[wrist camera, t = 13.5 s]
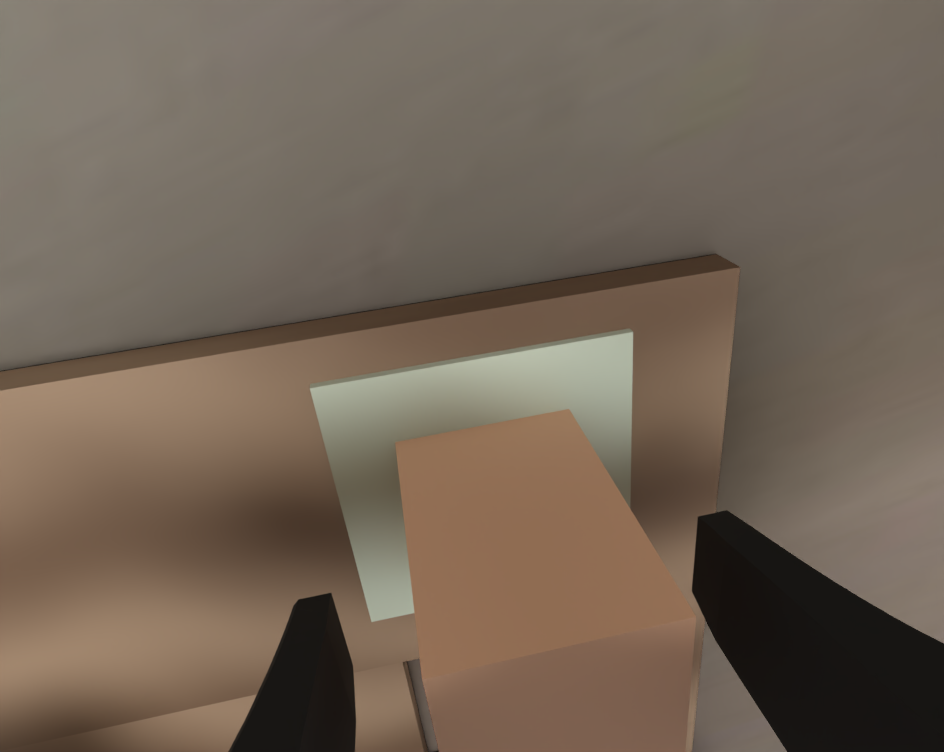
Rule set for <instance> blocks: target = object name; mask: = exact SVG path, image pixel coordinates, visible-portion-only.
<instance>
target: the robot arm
mask: <svg viewBox="0 0 944 752" xmlns="http://www.w3.org/2000/svg"><path fill="white" fill-rule="evenodd" d="M692 593H693V595H694V597H695V599H696V601H697V603H698V605H699V608H700V610H701V612H702V614H703V616H704V618H705V620H706V622H707V624H708V626H709V628H710V630H711V632H712V634H713V636H714V638H715V640H716V642H717V643H718V645H719V646H720V648H721V650H722V651H723V653H724V654H725V656H726V657H727V659H728V661H729V662H730V664H731V665H732V667H733V668H734V670H735V672H736V673H737V675H738V676H739V678H740V679H741V681H742V682H743V684H744V686H745V687H746V689H747V690H748V692H749V693H750V695H751V696H752V698H753V699H754V701H755V703H756V704H757V706H758V707H759V709H760V710H761V712H762V713H763V715H764V716H765V718H766V720H767V721H768V723H769V724H770V726H771V727H772V729H773V730H774V732H775V733H776V735H777V737H778V738H779V740H780V741H781V743H782V744H783V746H784V747H785V749H786V751H787V752H944V644H943V643H941V642H940V641H938V640H936V639H934V638H932V637H930V636H928V635H926V634H924V633H922V632H920V631H918V630H916V629H914V628H912V627H911V626H909V625H907V624H905V623H903V622H901V621H900V620H898V619H896V618H894V617H892V616H891V615H889V614H887V613H886V612H884V611H882V610H880V609H879V608H877V607H875V606H874V605H872V604H870V603H868V602H867V601H865V600H863V599H862V598H860V597H858V596H857V595H855V594H853V593H852V592H850V591H848V590H847V589H845V588H843V587H842V586H840V585H839V584H837V583H835V582H834V581H832V580H831V579H829V578H828V577H826V576H824V575H823V574H821V573H820V572H818V571H817V570H815V569H814V568H812V567H810V566H809V565H807V564H806V563H804V562H803V561H801V560H800V559H798V558H797V557H795V556H794V555H792V554H791V553H789V552H788V551H786V550H785V549H783V548H782V547H780V546H779V545H777V544H776V543H775V542H773V541H772V540H770V539H769V538H767V537H766V536H764V535H763V534H761V533H760V532H758V531H757V530H755V529H754V528H753V527H751V526H750V525H748V524H747V523H745V522H744V521H742V520H741V519H739V518H738V517H736V516H735V515H733V514H732V513H730V512H729V511H722V512H717V513H712V514H707V515H703V516H698V520H697V532H696V544H695V557H694V569H693V581H692ZM355 738H356V708H355V689H354V673H353V664H352V660H351V657H350V654H349V650H348V647H347V644H346V640H345V637H344V633H343V630H342V627H341V623H340V620H339V617H338V613H337V610H336V607H335V603H334V600H333V597H332V593H327V594H322V595H318V596H313V597H308V598H303V599H298V601H297V602H296V603H295V604H294V606H293V608H292V611H291V614H290V617H289V620H288V622H287V625H286V628H285V630H284V633H283V635H282V638H281V641H280V643H279V645H278V648H277V650H276V653H275V655H274V657H273V660H272V662H271V664H270V667H269V669H268V671H267V674H266V676H265V678H264V680H263V682H262V685H261V687H260V689H259V691H258V693H257V695H256V698H255V700H254V702H253V704H252V706H251V708H250V710H249V713H248V715H247V717H246V719H245V721H244V723H243V725H242V727H241V728H240V730H239V732H238V734H237V736H236V738H235V740H234V742H233V744H232V746H231V748H230V750H229V751H228V752H355Z"/></svg>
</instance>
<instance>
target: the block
mask: <svg viewBox="0 0 944 752" xmlns="http://www.w3.org/2000/svg"><path fill="white" fill-rule="evenodd" d="M395 446H396V455H397V464H398V473H399V481H400V490H401V499H402V508H403V517H404V525H405V534H406V543H407V552H408V560H409V569H410V578H411V587H412V595H413V604H414V613H415V622H416V630H417V639H418V648H419V657H420V665H421V674H422V681H423V685H424V690H425V694H426V698H427V703H428V707H429V711H430V715H431V720H432V724H433V728H434V732H435V737H436V741H437V745H438V750H439V752H685V750H686V738H687V726H688V713H689V701H690V689H691V676H692V664H693V652H694V639H695V627H696V615H695V614H694V612H693V610H692V609H691V607H690V605H689V604H688V602H687V601H686V599H685V597H684V596H683V594H682V592H681V591H680V589H679V588H678V586H677V584H676V583H675V581H674V579H673V578H672V576H671V574H670V573H669V571H668V570H667V568H666V566H665V565H664V563H663V561H662V560H661V558H660V557H659V555H658V553H657V552H656V550H655V548H654V547H653V545H652V543H651V542H650V540H649V539H648V537H647V535H646V534H645V532H644V530H643V529H642V527H641V525H640V524H639V522H638V521H637V519H636V517H635V516H634V514H633V512H632V511H631V509H630V508H629V506H628V504H627V503H626V501H625V499H624V498H623V496H622V494H621V493H620V491H619V490H618V488H617V486H616V485H615V483H614V481H613V480H612V478H611V476H610V475H609V473H608V472H607V470H606V468H605V467H604V465H603V463H602V462H601V460H600V459H599V457H598V455H597V454H596V452H595V450H594V449H593V447H592V445H591V444H590V442H589V441H588V439H587V437H586V436H585V434H584V432H583V431H582V429H581V427H580V426H579V424H578V423H577V421H576V419H575V418H574V416H573V414H572V413H571V411H570V410H569V409H566V410H561V411H555V412H550V413H545V414H540V415H534V416H529V417H524V418H519V419H514V420H508V421H503V422H498V423H493V424H487V425H482V426H477V427H472V428H467V429H461V430H456V431H451V432H446V433H440V434H435V435H430V436H425V437H420V438H414V439H409V440H404V441H399V442H395Z"/></svg>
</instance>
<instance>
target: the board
mask: <svg viewBox="0 0 944 752" xmlns="http://www.w3.org/2000/svg"><path fill="white" fill-rule="evenodd" d="M739 275H740V267H739V266H737V265H735V264H733V263H732V262H730V261H728V260H726V259H724V258H723V257H721V256H719V255H717V254H715V255H709V256H703V257H697V258H691V259H685V260H679V261H672V262H666V263H660V264H654V265H648V266H642V267H636V268H630V269H624V270H618V271H611V272H605V273H599V274H593V275H587V276H581V277H575V278H569V279H563V280H556V281H550V282H544V283H538V284H532V285H526V286H520V287H514V288H508V289H502V290H495V291H489V292H483V293H477V294H471V295H465V296H459V297H453V298H447V299H441V300H434V301H428V302H422V303H416V304H410V305H404V306H398V307H392V308H386V309H380V310H373V311H367V312H361V313H355V314H349V315H343V316H337V317H331V318H325V319H318V320H312V321H306V322H300V323H294V324H288V325H282V326H276V327H270V328H264V329H257V330H251V331H245V332H239V333H233V334H227V335H221V336H215V337H209V338H203V339H196V340H190V341H184V342H178V343H172V344H166V345H160V346H154V347H148V348H141V349H135V350H129V351H123V352H117V353H111V354H105V355H99V356H93V357H87V358H80V359H74V360H68V361H62V362H56V363H50V364H44V365H38V366H32V367H26V368H19V369H13V370H7V371H1V372H0V752H228V751H229V750H230V748H231V746H232V744H233V742H234V740H235V738H236V736H237V734H238V732H239V730H240V728H241V727H242V725H243V723H244V721H245V719H246V717H247V715H248V713H249V710H250V708H251V706H252V704H253V702H254V700H255V698H256V695H257V693H258V691H259V689H260V687H261V685H262V682H263V680H264V678H265V676H266V674H267V671H268V669H269V667H270V664H271V662H272V660H273V657H274V655H275V653H276V650H277V648H278V645H279V643H280V641H281V638H282V635H283V633H284V630H285V628H286V625H287V622H288V620H289V617H290V614H291V611H292V608H293V606H294V604H295V603H296V602H297V601H298V599H303V598H308V597H313V596H318V595H322V594H327V593H332V597H333V600H334V603H335V607H336V610H337V613H338V617H339V620H340V623H341V627H342V630H343V633H344V637H345V640H346V644H347V647H348V650H349V654H350V657H351V660H352V664H353V673H354V689H355V708H356V738H355V752H428V750H427V746H426V741H425V737H424V733H423V729H422V724H421V720H420V716H419V712H418V707H417V703H416V699H415V695H414V691H413V686H412V682H411V678H410V674H409V669H408V665H407V661H410V660H414V659H419V658H420V657H419V648H418V639H417V630H416V622H415V613H414V604H413V595H412V587H411V578H410V569H409V560H408V552H407V543H406V534H405V525H404V517H403V508H402V499H401V490H400V481H399V473H398V464H397V455H396V446H395V442H399V441H404V440H409V439H414V438H420V437H425V436H430V435H435V434H440V433H446V432H451V431H456V430H461V429H467V428H472V427H477V426H482V425H487V424H493V423H498V422H503V421H508V420H514V419H519V418H524V417H529V416H534V415H540V414H545V413H550V412H555V411H561V410H566V409H569V410H570V411H571V413H572V414H573V416H574V418H575V419H576V421H577V423H578V424H579V426H580V427H581V429H582V431H583V432H584V434H585V436H586V437H587V439H588V441H589V442H590V444H591V445H592V447H593V449H594V450H595V452H596V454H597V455H598V457H599V459H600V460H601V462H602V463H603V465H604V467H605V468H606V470H607V472H608V473H609V475H610V476H611V478H612V480H613V481H614V483H615V485H616V486H617V488H618V490H619V491H620V493H621V494H622V496H623V498H624V499H625V501H626V503H627V504H628V506H629V508H630V509H631V511H632V512H633V514H634V516H635V517H636V519H637V521H638V522H639V524H640V525H641V527H642V529H643V530H644V532H645V534H646V535H647V537H648V539H649V540H650V542H651V543H652V545H653V547H654V548H655V550H656V552H657V553H658V555H659V557H660V558H661V560H662V561H663V563H664V565H665V566H666V568H667V570H668V571H669V573H670V574H671V576H672V578H673V579H674V581H675V583H676V584H677V586H678V588H679V589H680V591H681V592H682V594H683V596H684V597H685V599H686V601H687V602H688V604H689V605H690V607H691V609H692V610H693V612H694V614H695V615H696V627H695V639H694V652H693V664H692V676H691V689H690V701H689V713H688V726H687V738H686V750H685V752H692V745H693V735H694V725H695V715H696V705H697V695H698V685H699V675H700V665H701V655H702V645H703V635H704V625H705V618H704V616H703V614H702V612H701V610H700V608H699V605H698V603H697V601H696V599H695V597H694V595H693V593H692V581H693V569H694V557H695V544H696V532H697V520H698V516H703V515H707V514H712V513H716V505H717V495H718V485H719V475H720V465H721V455H722V445H723V435H724V425H725V415H726V405H727V395H728V385H729V375H730V365H731V355H732V345H733V335H734V325H735V315H736V305H737V295H738V285H739Z"/></svg>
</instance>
